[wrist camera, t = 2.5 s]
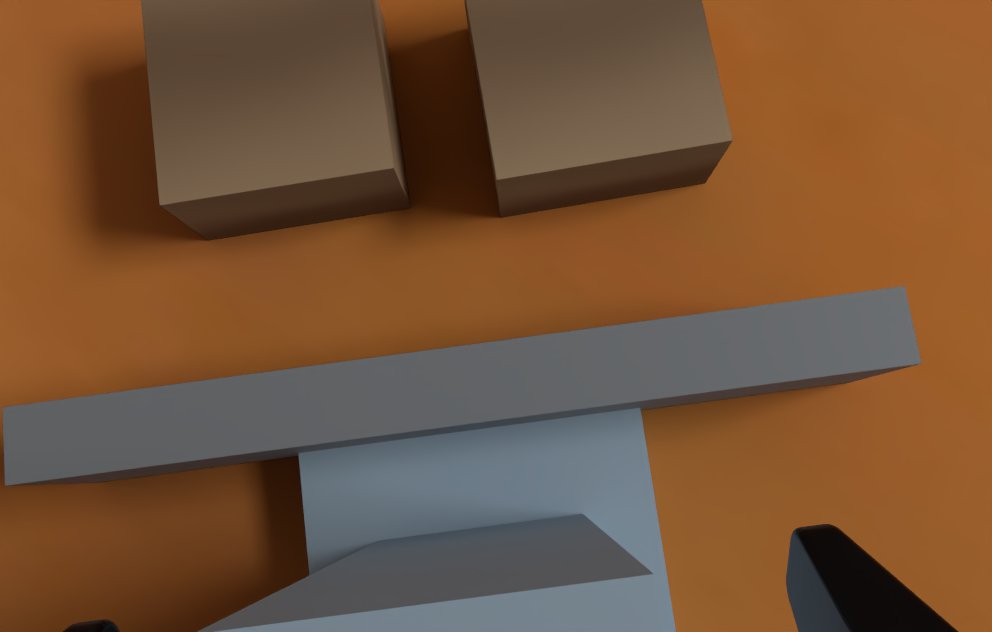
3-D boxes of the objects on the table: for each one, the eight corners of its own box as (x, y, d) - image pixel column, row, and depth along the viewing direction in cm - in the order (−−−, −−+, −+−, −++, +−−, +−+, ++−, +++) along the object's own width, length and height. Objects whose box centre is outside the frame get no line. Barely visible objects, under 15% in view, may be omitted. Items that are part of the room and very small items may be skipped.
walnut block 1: (412, 211, 17) (393, 168, 15) (211, 243, 17) (159, 205, 15) (385, 25, 18) (363, -46, 15) (192, 56, 18) (140, -10, 15)
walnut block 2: (702, 186, 17) (732, 140, 15) (501, 220, 17) (497, 179, 15) (662, 0, 18) (685, -75, 15) (468, 33, 18) (459, -37, 15)
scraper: (907, 675, 15) (1517, 1008, 6) (114, 778, 15) (-526, 1260, 6) (836, 318, 16) (1252, 119, 7) (96, 417, 16) (-469, 355, 7)
